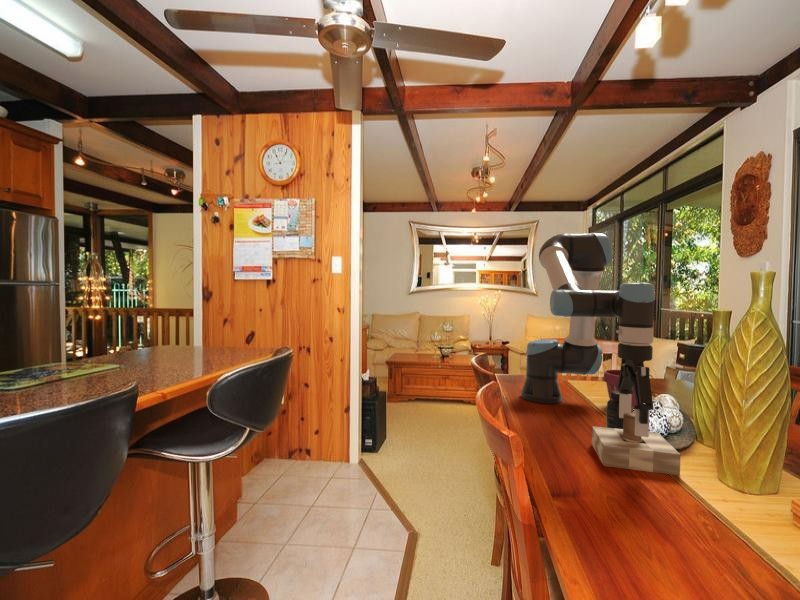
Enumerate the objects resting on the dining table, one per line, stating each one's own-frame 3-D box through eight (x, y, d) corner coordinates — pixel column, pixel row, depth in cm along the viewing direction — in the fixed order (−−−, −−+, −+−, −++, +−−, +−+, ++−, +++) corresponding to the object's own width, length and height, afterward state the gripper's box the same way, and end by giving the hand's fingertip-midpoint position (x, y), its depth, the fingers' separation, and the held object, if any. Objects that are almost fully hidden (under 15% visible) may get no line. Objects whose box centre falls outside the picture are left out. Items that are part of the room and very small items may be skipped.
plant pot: (602, 399, 151) (603, 367, 151) (644, 404, 145) (645, 371, 144) (603, 409, 138) (604, 374, 138) (649, 415, 132) (650, 379, 131)
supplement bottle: (635, 436, 112) (637, 396, 112) (610, 434, 113) (611, 394, 113) (626, 428, 119) (628, 390, 118) (603, 426, 120) (604, 389, 120)
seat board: (591, 443, 106) (592, 426, 106) (657, 451, 102) (657, 432, 102) (603, 465, 93) (604, 445, 93) (679, 475, 88) (680, 454, 88)
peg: (620, 453, 100) (621, 412, 100) (638, 455, 99) (639, 413, 99) (624, 460, 96) (625, 417, 96) (643, 462, 95) (644, 419, 95)
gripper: (606, 337, 110) (604, 410, 110) (633, 349, 86) (631, 443, 86) (636, 338, 108) (633, 412, 108) (672, 351, 84) (669, 447, 84)
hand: (632, 426), depth 97 cm, fingers open, 13 cm apart
